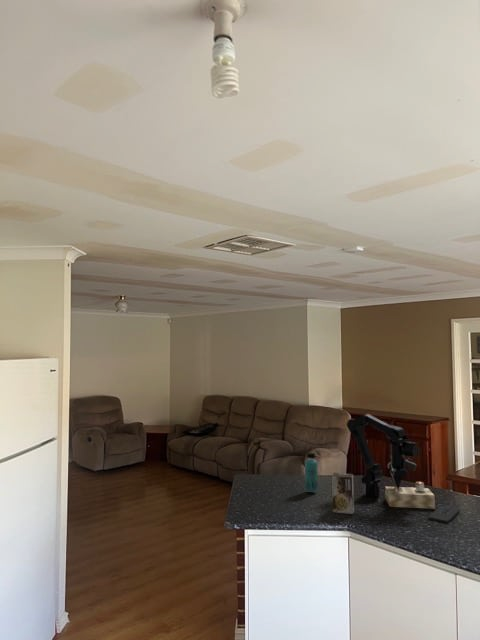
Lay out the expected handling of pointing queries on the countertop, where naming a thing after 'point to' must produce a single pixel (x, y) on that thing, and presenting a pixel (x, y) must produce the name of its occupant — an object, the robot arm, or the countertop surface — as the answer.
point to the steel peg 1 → (398, 489)
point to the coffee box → (343, 493)
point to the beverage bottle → (311, 473)
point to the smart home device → (444, 514)
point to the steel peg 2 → (420, 487)
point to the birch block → (409, 498)
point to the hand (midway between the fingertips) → (398, 487)
